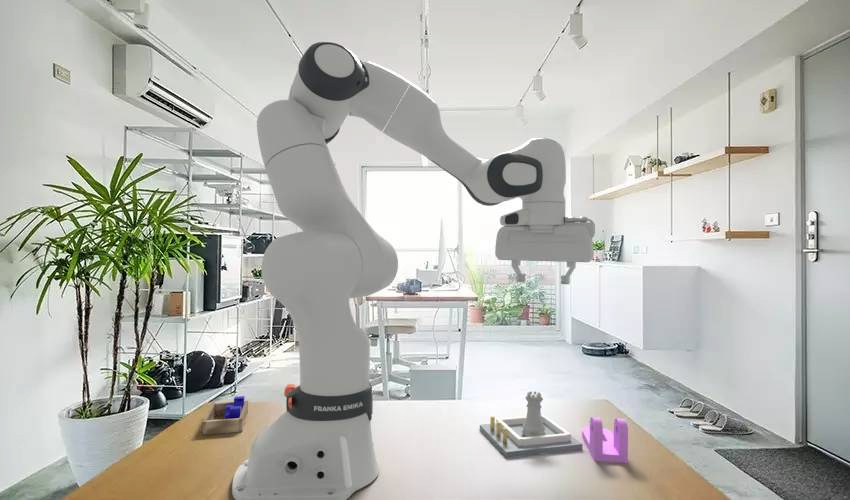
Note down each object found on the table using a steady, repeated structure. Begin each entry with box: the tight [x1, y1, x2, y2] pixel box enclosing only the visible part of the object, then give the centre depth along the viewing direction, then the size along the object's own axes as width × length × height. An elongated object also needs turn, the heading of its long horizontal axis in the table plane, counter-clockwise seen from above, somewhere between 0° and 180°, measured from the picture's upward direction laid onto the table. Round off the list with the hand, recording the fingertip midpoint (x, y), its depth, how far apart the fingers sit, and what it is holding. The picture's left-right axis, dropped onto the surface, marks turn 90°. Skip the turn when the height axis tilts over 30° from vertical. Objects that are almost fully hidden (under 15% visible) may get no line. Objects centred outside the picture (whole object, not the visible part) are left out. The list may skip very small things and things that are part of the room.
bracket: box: [581, 416, 629, 464], centre depth 91 cm, size 13×6×7 cm, turn 173°
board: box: [479, 414, 583, 459], centre depth 93 cm, size 15×13×4 cm
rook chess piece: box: [522, 391, 546, 437], centre depth 93 cm, size 4×4×8 cm
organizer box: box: [201, 400, 249, 436], centre depth 100 cm, size 7×11×2 cm, turn 14°
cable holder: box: [224, 395, 246, 419], centre depth 101 cm, size 8×4×4 cm, turn 15°
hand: (542, 283), depth 103 cm, fingers open, 8 cm apart
